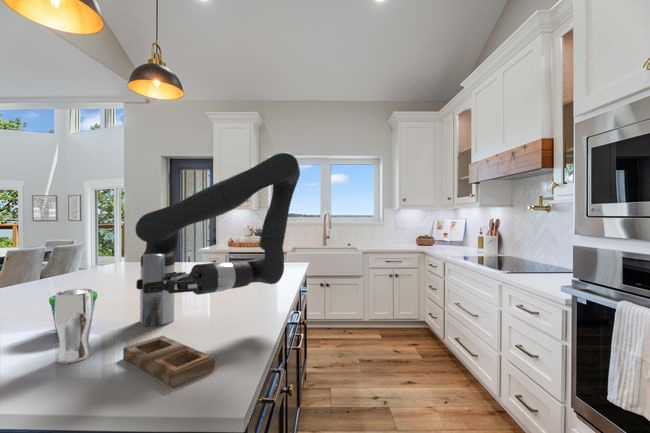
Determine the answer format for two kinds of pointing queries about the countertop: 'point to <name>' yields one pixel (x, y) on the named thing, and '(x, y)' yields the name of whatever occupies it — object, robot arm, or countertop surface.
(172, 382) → the wooden peg holder
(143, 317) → the metal peg
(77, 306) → the beer glass
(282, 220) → the robot arm
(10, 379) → the countertop surface
